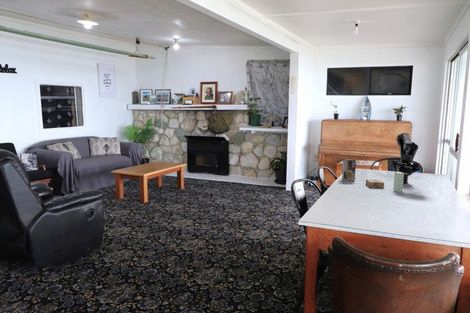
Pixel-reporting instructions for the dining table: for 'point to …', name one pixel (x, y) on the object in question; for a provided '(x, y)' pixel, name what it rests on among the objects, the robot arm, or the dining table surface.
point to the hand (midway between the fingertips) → (401, 174)
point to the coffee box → (348, 169)
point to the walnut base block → (374, 183)
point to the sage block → (398, 181)
